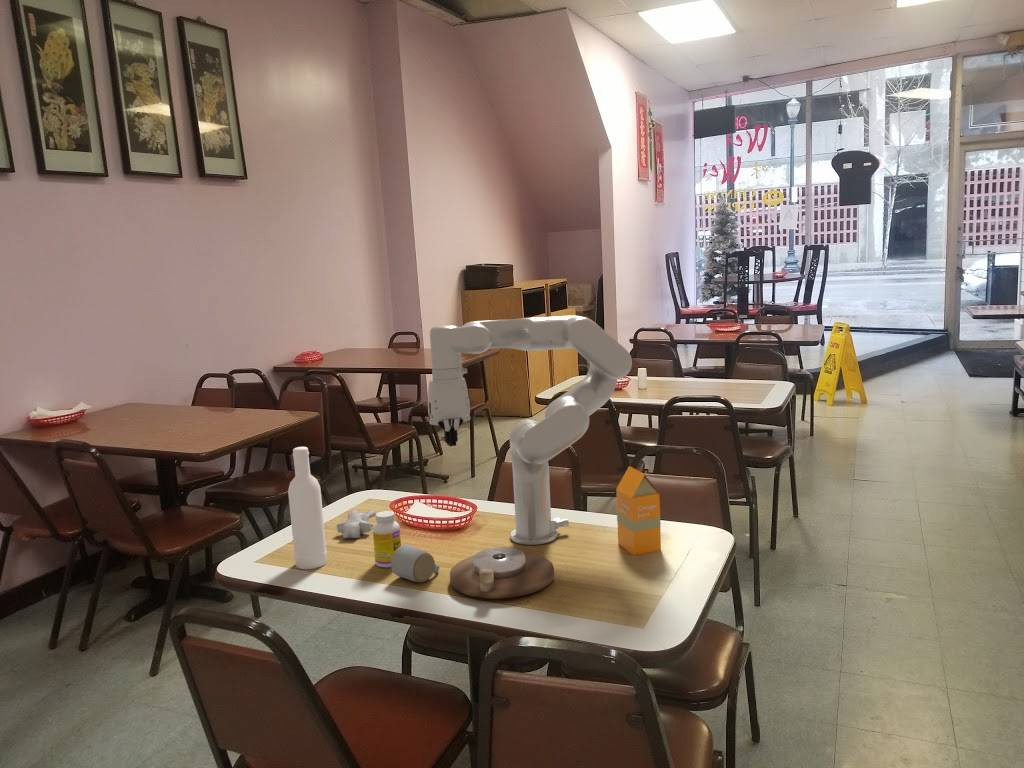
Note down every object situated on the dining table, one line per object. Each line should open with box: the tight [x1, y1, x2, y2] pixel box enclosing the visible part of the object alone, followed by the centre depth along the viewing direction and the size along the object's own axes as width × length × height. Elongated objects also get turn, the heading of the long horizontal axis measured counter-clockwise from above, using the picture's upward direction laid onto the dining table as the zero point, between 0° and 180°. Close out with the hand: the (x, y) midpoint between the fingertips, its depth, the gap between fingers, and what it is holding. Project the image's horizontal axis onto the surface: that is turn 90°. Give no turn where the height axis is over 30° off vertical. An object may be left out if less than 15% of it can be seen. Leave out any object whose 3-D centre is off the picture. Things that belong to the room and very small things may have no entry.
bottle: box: [287, 446, 328, 570], centre depth 193 cm, size 8×8×30 cm
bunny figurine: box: [336, 509, 377, 539], centre depth 218 cm, size 10×5×15 cm
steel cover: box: [473, 546, 526, 580], centre depth 179 cm, size 12×12×3 cm
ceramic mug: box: [390, 543, 440, 583], centre depth 183 cm, size 11×8×8 cm
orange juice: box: [615, 465, 662, 556], centre depth 194 cm, size 8×9×20 cm
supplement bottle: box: [372, 510, 402, 568], centre depth 192 cm, size 7×7×13 cm
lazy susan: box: [449, 551, 555, 600], centre depth 178 cm, size 24×24×6 cm
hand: (451, 444), depth 199 cm, fingers closed
